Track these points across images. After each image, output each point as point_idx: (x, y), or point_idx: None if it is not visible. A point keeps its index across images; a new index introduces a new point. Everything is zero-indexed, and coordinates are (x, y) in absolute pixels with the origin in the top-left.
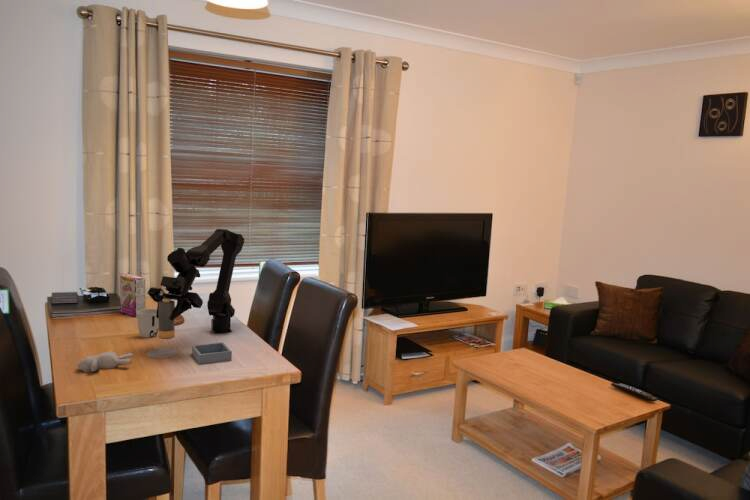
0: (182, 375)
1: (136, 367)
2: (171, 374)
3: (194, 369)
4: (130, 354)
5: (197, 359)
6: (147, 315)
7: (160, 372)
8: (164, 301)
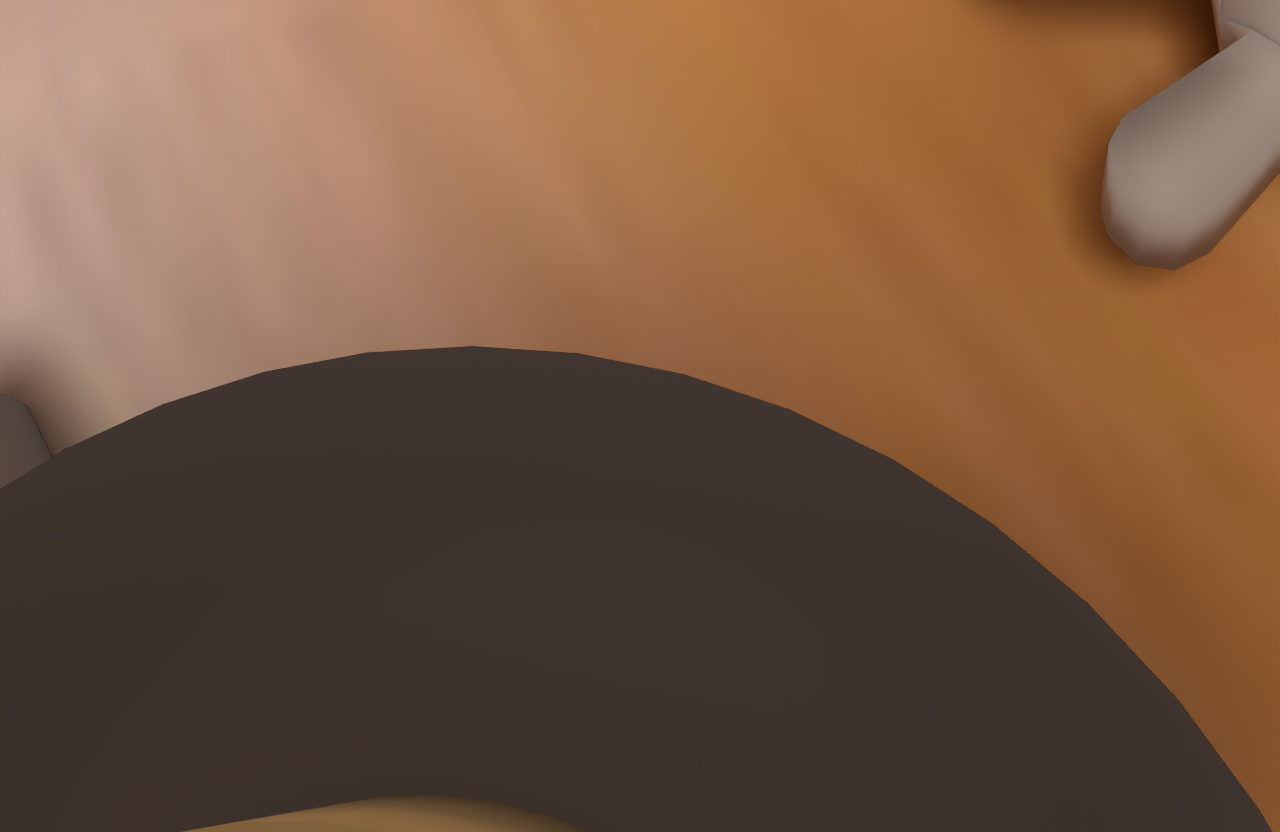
0: (174, 54)
1: (947, 190)
2: (330, 53)
3: (70, 301)
4: (1147, 166)
5: (12, 471)
6: None
7: (506, 86)
8: (462, 811)
